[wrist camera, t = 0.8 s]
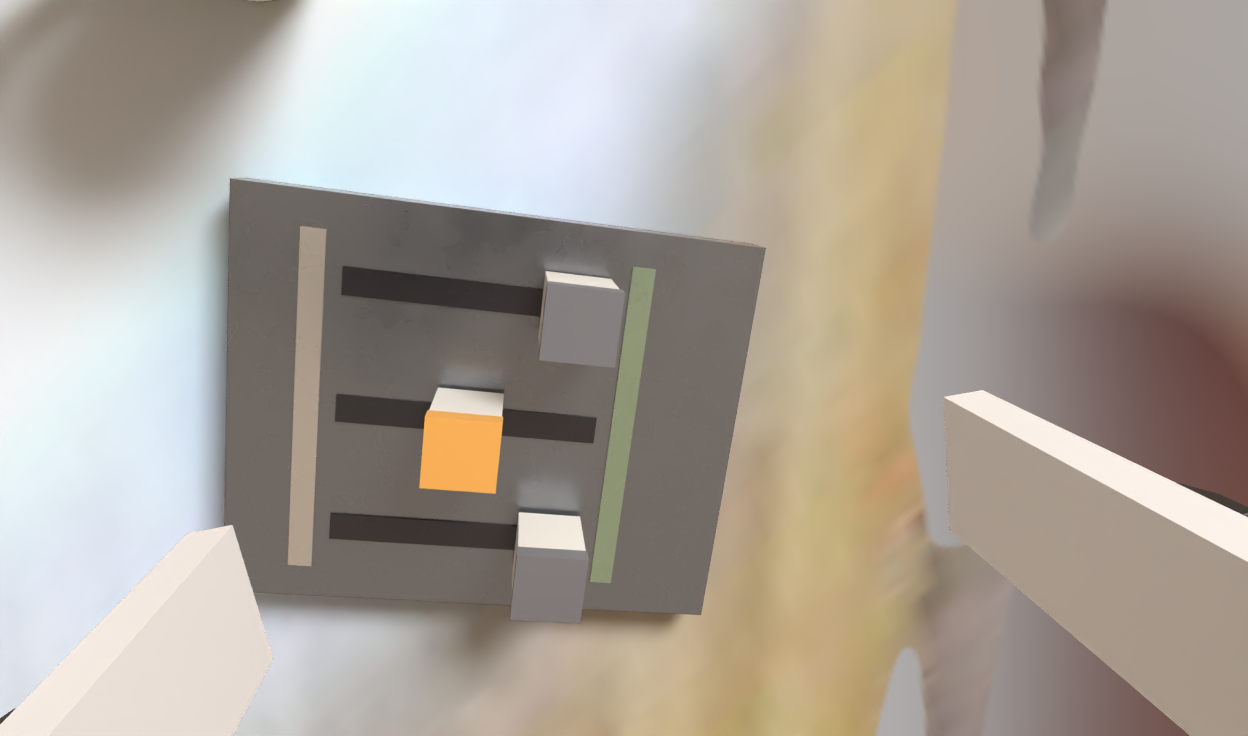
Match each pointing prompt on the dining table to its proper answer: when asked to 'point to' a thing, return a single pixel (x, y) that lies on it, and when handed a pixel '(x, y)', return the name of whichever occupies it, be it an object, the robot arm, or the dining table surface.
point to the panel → (478, 361)
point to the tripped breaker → (462, 441)
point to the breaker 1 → (580, 320)
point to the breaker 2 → (548, 569)
